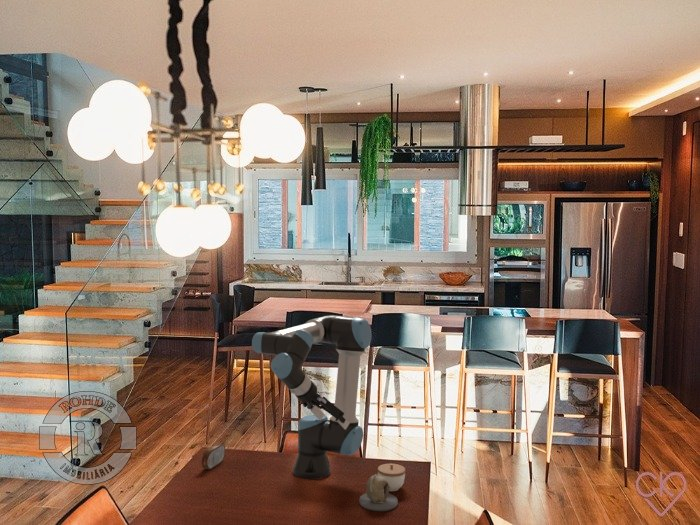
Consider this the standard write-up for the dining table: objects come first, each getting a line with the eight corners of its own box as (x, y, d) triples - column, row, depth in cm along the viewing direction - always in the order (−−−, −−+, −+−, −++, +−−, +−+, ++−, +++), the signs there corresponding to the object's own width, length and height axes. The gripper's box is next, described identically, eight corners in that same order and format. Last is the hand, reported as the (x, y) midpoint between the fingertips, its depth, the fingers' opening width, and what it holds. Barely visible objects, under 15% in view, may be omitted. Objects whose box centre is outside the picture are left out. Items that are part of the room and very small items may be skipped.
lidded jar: (403, 495, 247) (403, 470, 246) (375, 492, 249) (375, 468, 248) (406, 484, 257) (407, 460, 257) (379, 481, 260) (380, 458, 259)
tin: (220, 459, 280) (220, 440, 279) (226, 460, 279) (226, 440, 278) (200, 471, 266) (200, 451, 265) (207, 472, 265) (207, 452, 264)
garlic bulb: (370, 510, 236) (363, 487, 233) (366, 497, 244) (359, 474, 241) (395, 502, 237) (388, 478, 234) (390, 488, 245) (383, 466, 242)
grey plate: (351, 501, 240) (351, 498, 240) (378, 491, 249) (378, 488, 249) (378, 514, 230) (378, 511, 230) (405, 503, 239) (405, 500, 239)
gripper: (275, 389, 235) (306, 422, 246) (320, 404, 217) (352, 439, 228) (287, 372, 238) (317, 405, 249) (332, 385, 220) (363, 421, 231)
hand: (334, 421), depth 238 cm, fingers open, 13 cm apart
